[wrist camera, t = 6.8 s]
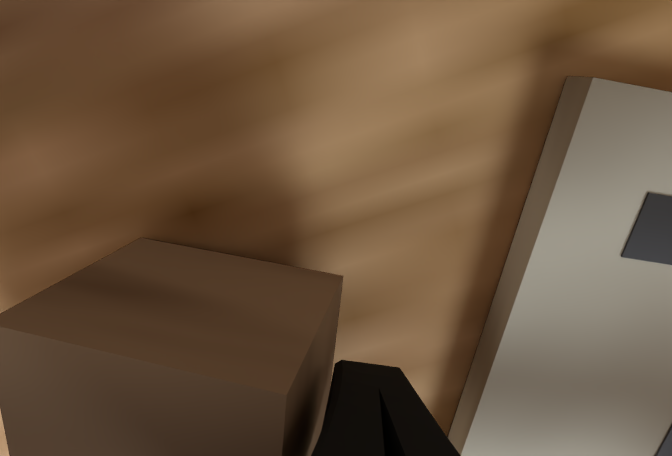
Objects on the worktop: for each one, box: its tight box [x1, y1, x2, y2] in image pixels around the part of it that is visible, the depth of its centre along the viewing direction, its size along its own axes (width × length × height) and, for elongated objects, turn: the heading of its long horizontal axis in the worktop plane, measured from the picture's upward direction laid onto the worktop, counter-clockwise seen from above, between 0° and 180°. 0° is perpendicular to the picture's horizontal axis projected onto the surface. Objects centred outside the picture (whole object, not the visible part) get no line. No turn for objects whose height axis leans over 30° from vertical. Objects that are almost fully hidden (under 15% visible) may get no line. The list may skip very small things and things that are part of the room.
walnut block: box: [0, 238, 343, 456], centre depth 9 cm, size 5×5×4 cm
